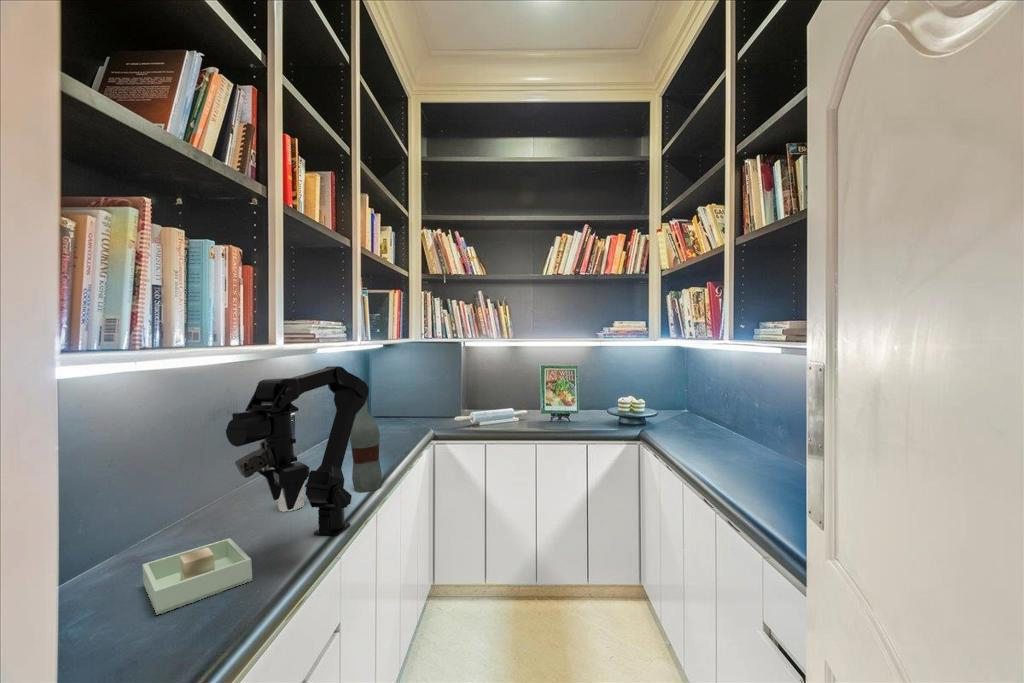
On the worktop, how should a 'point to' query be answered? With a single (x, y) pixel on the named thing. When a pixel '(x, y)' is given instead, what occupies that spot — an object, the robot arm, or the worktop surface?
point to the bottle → (365, 452)
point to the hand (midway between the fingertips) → (283, 504)
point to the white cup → (297, 505)
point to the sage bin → (175, 593)
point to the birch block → (196, 563)
